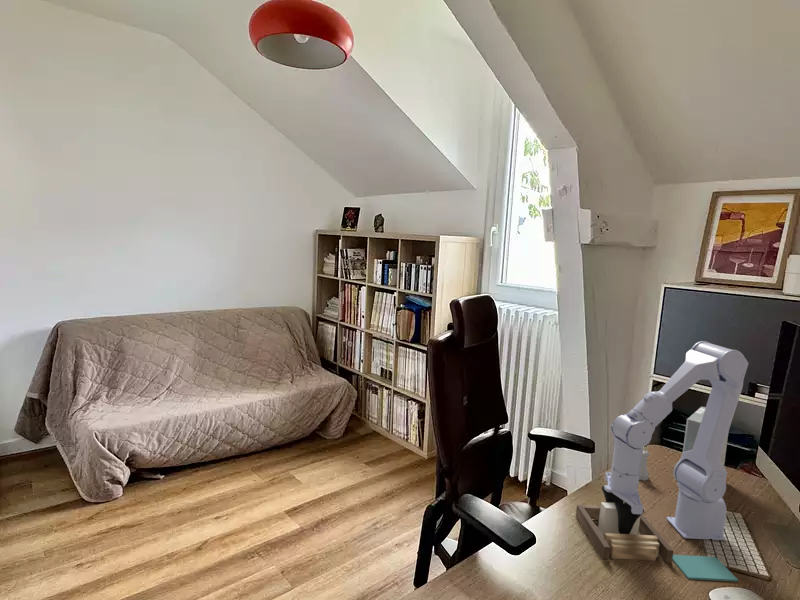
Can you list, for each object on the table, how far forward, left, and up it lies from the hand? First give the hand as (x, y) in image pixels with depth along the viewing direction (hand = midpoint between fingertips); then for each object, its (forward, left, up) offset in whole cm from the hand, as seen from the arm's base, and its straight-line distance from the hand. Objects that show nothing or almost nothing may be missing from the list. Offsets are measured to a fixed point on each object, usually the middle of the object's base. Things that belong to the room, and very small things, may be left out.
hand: (618, 526), depth 112 cm
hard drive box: (-35, -26, -2) cm, 44 cm away
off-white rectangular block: (0, 0, -2) cm, 2 cm away
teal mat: (-13, +10, -2) cm, 17 cm away
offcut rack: (0, 0, -2) cm, 2 cm away
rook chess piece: (-19, -28, -2) cm, 34 cm away
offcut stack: (0, +7, -2) cm, 7 cm away
